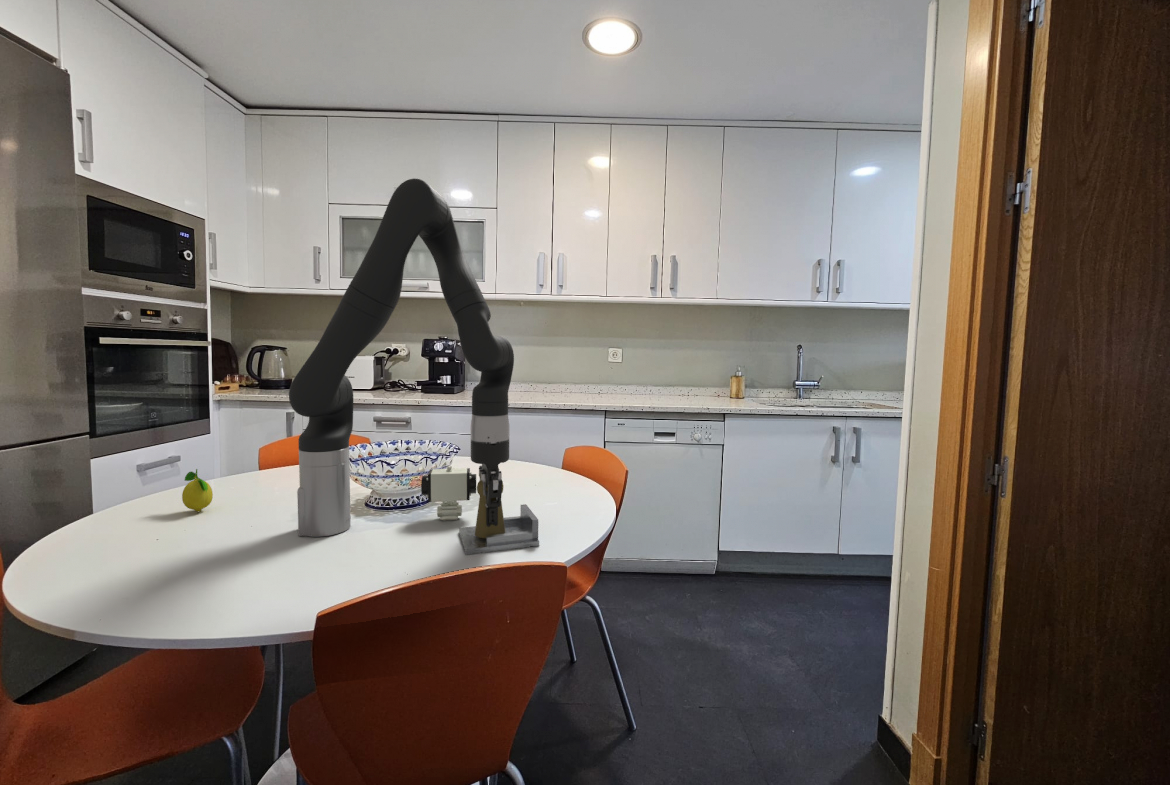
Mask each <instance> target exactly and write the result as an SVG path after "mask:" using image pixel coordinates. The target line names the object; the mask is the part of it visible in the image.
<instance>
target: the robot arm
mask: <svg viewBox="0 0 1170 785" xmlns="http://www.w3.org/2000/svg"><path fill="white" fill-rule="evenodd" d="M389 199H390V200H389V202H388V204H387V207H386V208H385V211H384V213H383V216H382V219H381V222H380V223H379V227H378V228H377V231H376V233H375V236H374V238H373V240H372V242H371V244H370V246H369V248H368V250H367V251H366V254H365V255H364V258H363V259H362V261H361V264H360V266H359V267H358V269H357V270H356V273H355V275H354V276H353V278H352V279H351V281H350V284H349V285H348V287H347V289H346V290H345V292H344V294H343V296H342V298H341V299H340V302H339V304H338V306H337V308H336V310H335V311H334V314H333V315H332V317H331V318H330V321H329V323H328V325H327V326H326V328H325V330H324V331H323V334H322V335H321V337H320V339H319V341H318V343H317V344H316V347H315V348H314V349H313V351H312V352H311V353H310V355H309V357H307V359H306V360H305V363H304V364H302V366H301V368H300V369H299V371H298V372H297V373H296V375H295V377H294V378H293V379H292V381H291V383H290V387H289V390H288V400H289V404H290V406H291V408H292V410H294V412H295V413H296V414H297V415H299V416H302V417H307V418H308V422H307V426H306V428H305V429H304V430H303V432H302V433H300V435H299V437H298V472H299V487H298V488H297V492H296V493H297V496H296V497H297V526H298V527H297V528H298V530H297V531H298V532H297V533H298V537H303V536H304V537H313V538H318V537H319V538H320V537H328V536H333V535H337V534H340V533H343V532H346V531H347V530H349V529H350V528H351V517H352V516H351V482H350V481H351V473H350V469H351V467H350V438H351V434H352V432H353V426H354V425H353V424H354V389H353V386H352V383H351V380H350V379H349V377H348V376H346V374H347V371H348V369H349V368H350V366H351V365H352V363H353V362H354V360H355V359H356V357H357V356H359V355H360V353H361V352H363V351H364V349H366V347H367V346H368V345H370V343H372V341H373V340H375V338H377V336H378V335H380V333H381V332H382V331H383V329H384V328H385V326H386V325H387V323H388V321H389V320H390V318H391V317H392V314H393V312H394V311H395V309H396V307H397V305H398V302H399V300H400V297H401V293H402V286H403V280H404V270H405V264H406V260H407V258H408V256H409V253H410V250H411V249H412V247H413V246H414V243H415V242H416V240H417V239H418V237H420V239H421V240H422V241H423V243H424V244H425V246H426V247H427V249H428V251H429V252H430V254H431V256H432V258H433V260H434V262H435V265H436V268H437V273H438V279H439V285H440V289H441V291H442V294H443V297H444V300H445V303H446V304H447V306H448V309H449V312H450V314H451V315H452V317H453V320H454V322H455V323H456V327H457V333H458V337H459V342H460V347H461V352H462V354H463V356H464V358H465V359H466V361H467V362H468V364H469V366H471V368H473V369H474V370H476V371H478V372H481V373H480V378H479V379H480V380H479V382H478V384H477V385H475V386H474V387H473V389H472V393H471V419H470V420H471V421H470V461H471V462H473V463H474V464H478V465H479V466H478V476H479V481H480V480H481V481H482V485H483V495H484V496H485V501H486V504H485V507H486V525H487V527H490V526H491V525H492V524H493V525H494V526H497V525H498V507H501V502H502V494H503V492H502V484H503V485H504V483H503V482H504V481H503V477H502V471H501V470H500V468H499V464H501V463H502V464H503V463H506V462H508V461H509V460H510V419H509V390H510V386H511V381H512V376H513V371H514V365H515V364H514V363H515V354H514V349H513V346H512V344H511V342H510V341H509V340H508V339H507V338H505V337H503V336H500V335H494V334H493V333H492V330H491V327H490V324H489V321H490V320H491V315H492V314H491V310H490V308H489V306H488V303H487V302H486V299H485V297H484V295H483V293H482V291H481V288H480V287H479V284H478V283H477V280H476V277H475V276H474V274H473V272H472V270H471V268H470V265H469V263H468V260H467V258H466V256H465V253H464V251H463V247H462V245H461V242H460V239H459V236H458V233H457V228H456V226H455V220H454V217H453V215H452V211H451V208H450V205H449V203H448V201H447V200H446V199H445V197H443V195H441V194H440V193H439V191H437V190H436V189H435V188H433V187H432V185H431V184H429V183H427V182H426V181H425V180H423V179H420V178H414V177H413V178H410V179H409V178H408V179H407V180H404V181H403V182H401V183H400V184H399V185H398V186H397V187H396V188H395V190H394V192H393V193H392V195H391V197H390V198H389ZM486 487H487V488H488V492H487V491H486ZM491 498H495V499H496V501H491Z"/></svg>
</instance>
